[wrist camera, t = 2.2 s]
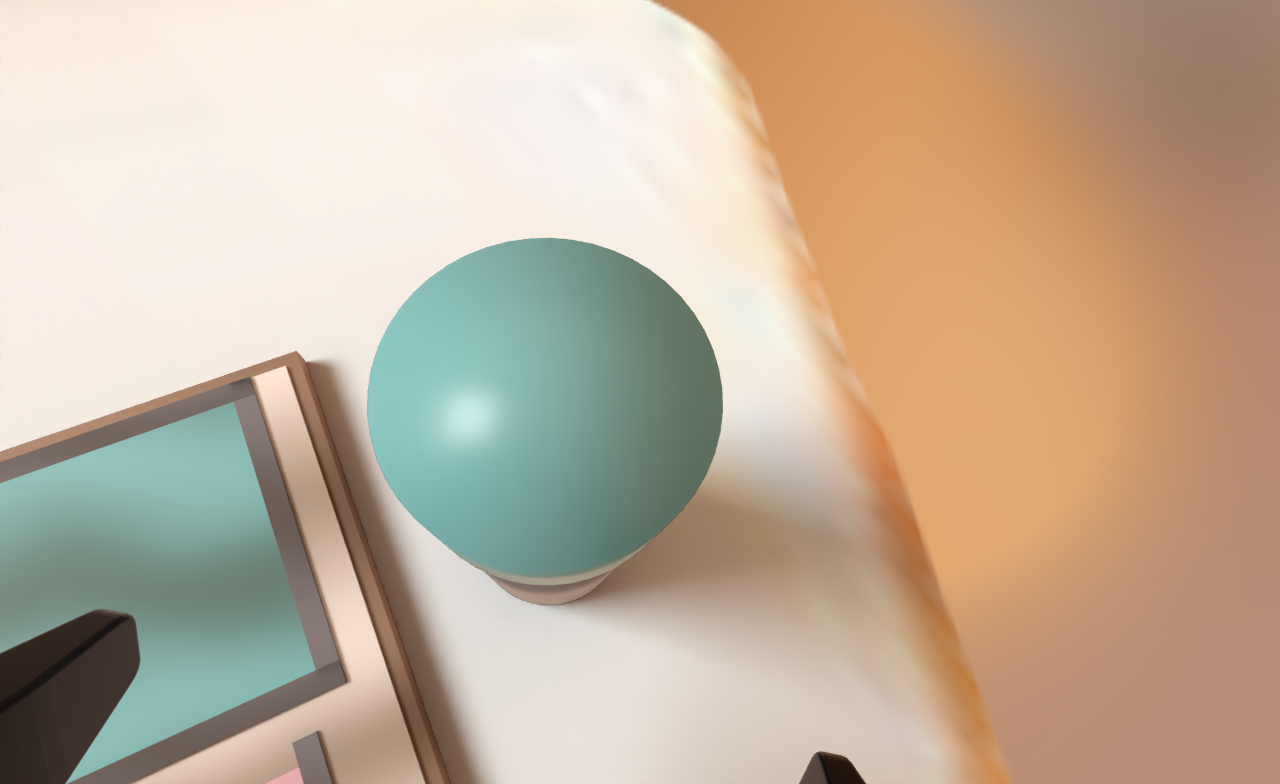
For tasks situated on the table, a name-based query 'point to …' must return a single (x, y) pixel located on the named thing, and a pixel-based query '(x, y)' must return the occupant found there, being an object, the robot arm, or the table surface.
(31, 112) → the table surface
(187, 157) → the table surface
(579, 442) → the teal rubber stamp
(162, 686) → the colouring board
